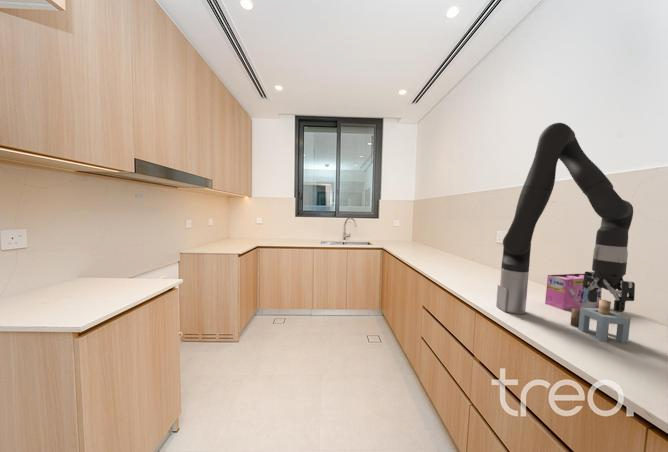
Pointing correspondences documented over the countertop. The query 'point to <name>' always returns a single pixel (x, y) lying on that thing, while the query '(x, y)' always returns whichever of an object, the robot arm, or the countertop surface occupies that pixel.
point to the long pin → (604, 308)
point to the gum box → (568, 292)
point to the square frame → (604, 324)
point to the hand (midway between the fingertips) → (604, 306)
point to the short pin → (575, 317)
